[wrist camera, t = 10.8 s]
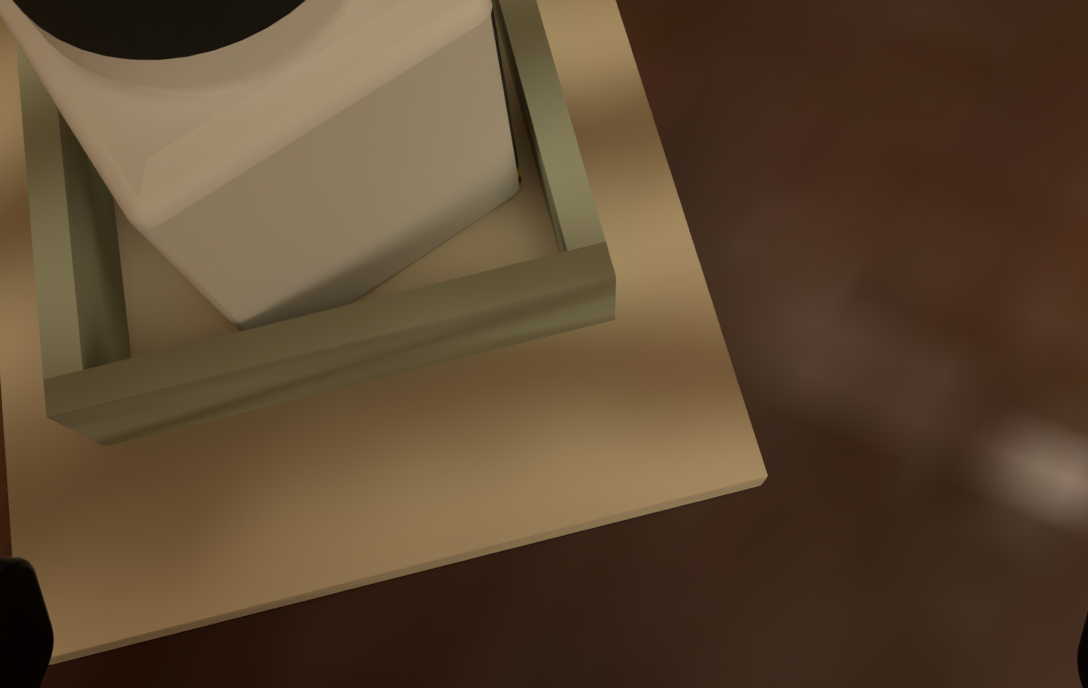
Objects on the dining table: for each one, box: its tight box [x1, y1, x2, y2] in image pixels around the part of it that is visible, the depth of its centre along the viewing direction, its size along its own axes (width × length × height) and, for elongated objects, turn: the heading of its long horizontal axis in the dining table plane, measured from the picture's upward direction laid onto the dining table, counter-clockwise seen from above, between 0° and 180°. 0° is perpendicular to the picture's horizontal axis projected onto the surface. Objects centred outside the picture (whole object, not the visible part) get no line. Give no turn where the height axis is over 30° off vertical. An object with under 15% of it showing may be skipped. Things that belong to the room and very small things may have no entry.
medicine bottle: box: [0, 0, 521, 331], centre depth 19 cm, size 7×7×12 cm
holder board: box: [0, 0, 768, 665], centre depth 24 cm, size 20×16×4 cm
